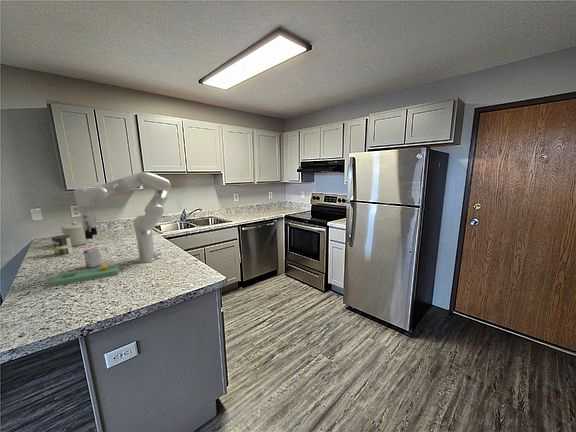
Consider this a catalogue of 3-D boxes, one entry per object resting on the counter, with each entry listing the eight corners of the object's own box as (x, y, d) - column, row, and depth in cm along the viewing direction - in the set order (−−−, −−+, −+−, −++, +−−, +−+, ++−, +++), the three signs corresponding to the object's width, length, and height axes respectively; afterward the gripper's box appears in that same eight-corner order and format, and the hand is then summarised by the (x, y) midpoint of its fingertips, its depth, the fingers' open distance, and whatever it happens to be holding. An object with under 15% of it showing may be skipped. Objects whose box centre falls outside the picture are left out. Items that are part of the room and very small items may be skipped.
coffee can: (61, 257, 176) (57, 238, 173) (51, 256, 178) (47, 238, 175) (76, 252, 185) (73, 235, 183) (66, 251, 188) (63, 234, 185)
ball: (109, 267, 147) (108, 261, 146) (108, 270, 143) (107, 263, 143) (101, 269, 145) (100, 263, 144) (99, 271, 142) (98, 265, 141)
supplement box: (101, 264, 159) (99, 248, 157) (92, 268, 153) (89, 251, 151) (95, 264, 160) (92, 248, 158) (86, 267, 155) (82, 250, 153)
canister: (79, 247, 198) (74, 223, 194) (58, 248, 198) (53, 223, 194) (96, 241, 216) (92, 219, 212) (77, 241, 216) (73, 219, 212)
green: (120, 267, 153) (119, 264, 153) (117, 274, 143) (117, 270, 142) (58, 278, 139) (58, 274, 139) (51, 286, 129) (50, 282, 128)
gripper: (89, 210, 134) (95, 239, 137) (97, 206, 149) (102, 232, 152) (72, 211, 131) (79, 241, 134) (82, 207, 146) (88, 234, 149)
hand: (91, 236), depth 143 cm, fingers open, 9 cm apart
